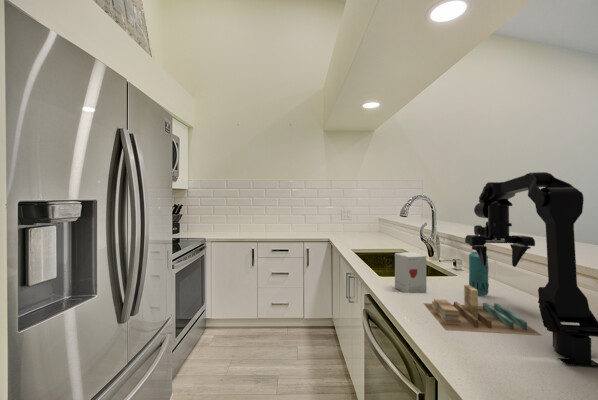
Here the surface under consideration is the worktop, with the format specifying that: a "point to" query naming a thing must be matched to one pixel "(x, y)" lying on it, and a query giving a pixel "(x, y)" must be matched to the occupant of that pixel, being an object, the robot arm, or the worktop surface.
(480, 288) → the beverage bottle
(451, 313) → the offcut stack
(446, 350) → the worktop surface
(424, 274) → the supplement box
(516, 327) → the rack
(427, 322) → the worktop surface
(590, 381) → the worktop surface
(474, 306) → the tan rectangular block
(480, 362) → the worktop surface
